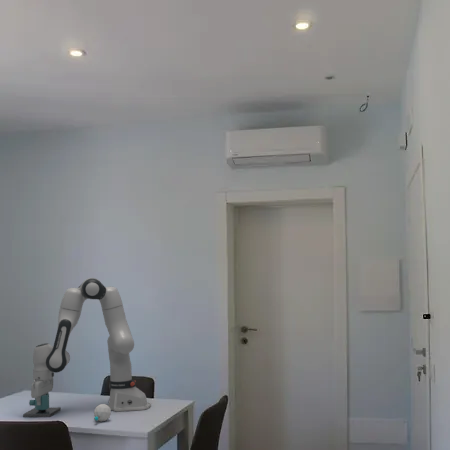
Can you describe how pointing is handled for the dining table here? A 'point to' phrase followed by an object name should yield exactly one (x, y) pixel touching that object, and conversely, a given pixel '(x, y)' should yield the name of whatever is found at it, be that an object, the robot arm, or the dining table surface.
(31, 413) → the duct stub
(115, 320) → the robot arm
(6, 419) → the dining table surface
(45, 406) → the sleeve
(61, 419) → the dining table surface
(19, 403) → the dining table surface
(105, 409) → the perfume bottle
